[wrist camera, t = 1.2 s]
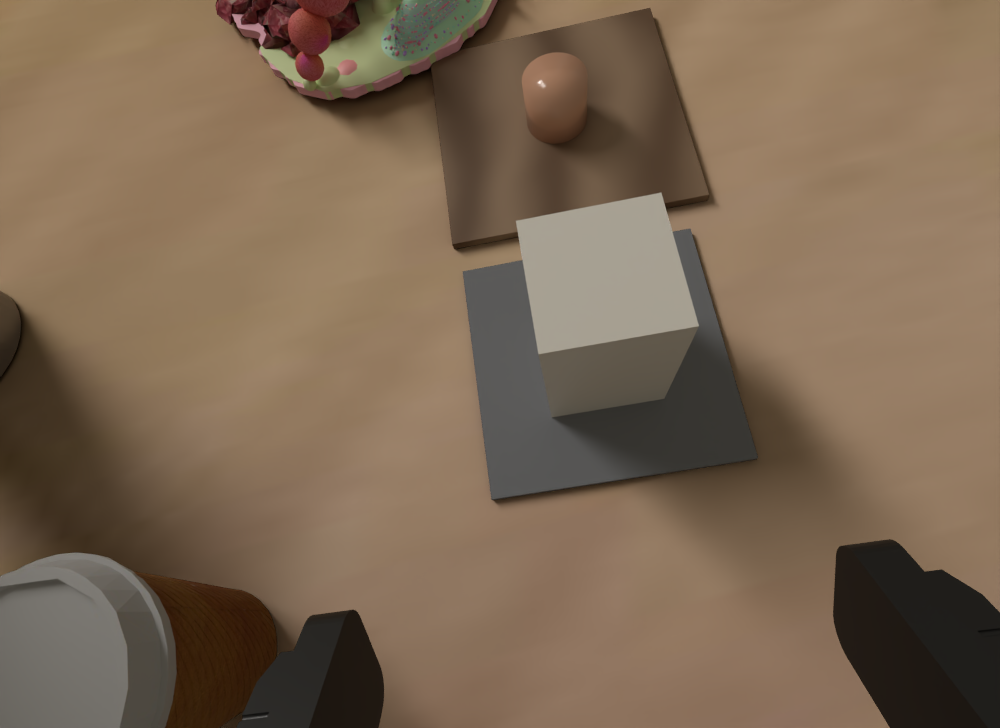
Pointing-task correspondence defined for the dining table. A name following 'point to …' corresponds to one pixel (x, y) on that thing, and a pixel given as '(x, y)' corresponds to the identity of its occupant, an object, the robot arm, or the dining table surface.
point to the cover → (607, 303)
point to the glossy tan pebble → (555, 97)
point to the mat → (606, 432)
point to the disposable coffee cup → (125, 647)
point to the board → (573, 164)
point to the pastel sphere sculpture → (354, 39)
